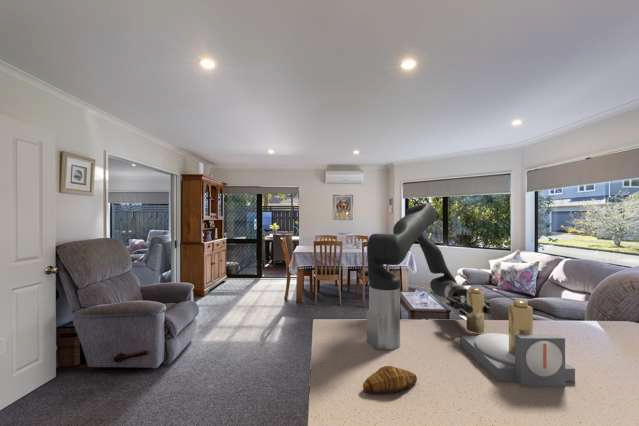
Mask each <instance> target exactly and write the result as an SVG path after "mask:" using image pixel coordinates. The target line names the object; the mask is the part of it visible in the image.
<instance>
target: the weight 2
mask: <svg viewBox="0 0 639 426" xmlns="http://www.w3.org/2000/svg"><path fill="white" fill-rule="evenodd" d="M533 311H534V307H533V306H530V305H529V303H528V302H527V301H525V300H523V299H522V300H521V299H514V300H513V302H512V303H509V304H508V335H509V353H510V354H512V355H513V356H515V334H519V335H534V331H533V330H534V329H533V328H534V314H533V313H534V312H533Z"/></svg>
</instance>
